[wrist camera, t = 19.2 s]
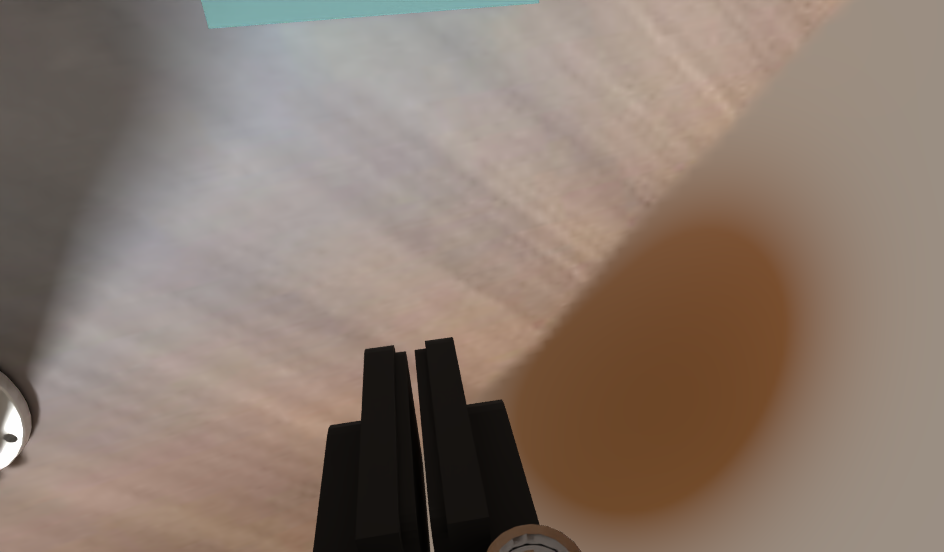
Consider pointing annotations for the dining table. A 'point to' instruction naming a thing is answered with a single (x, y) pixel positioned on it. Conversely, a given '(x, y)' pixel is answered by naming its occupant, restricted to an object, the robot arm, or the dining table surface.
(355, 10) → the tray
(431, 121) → the dining table surface
